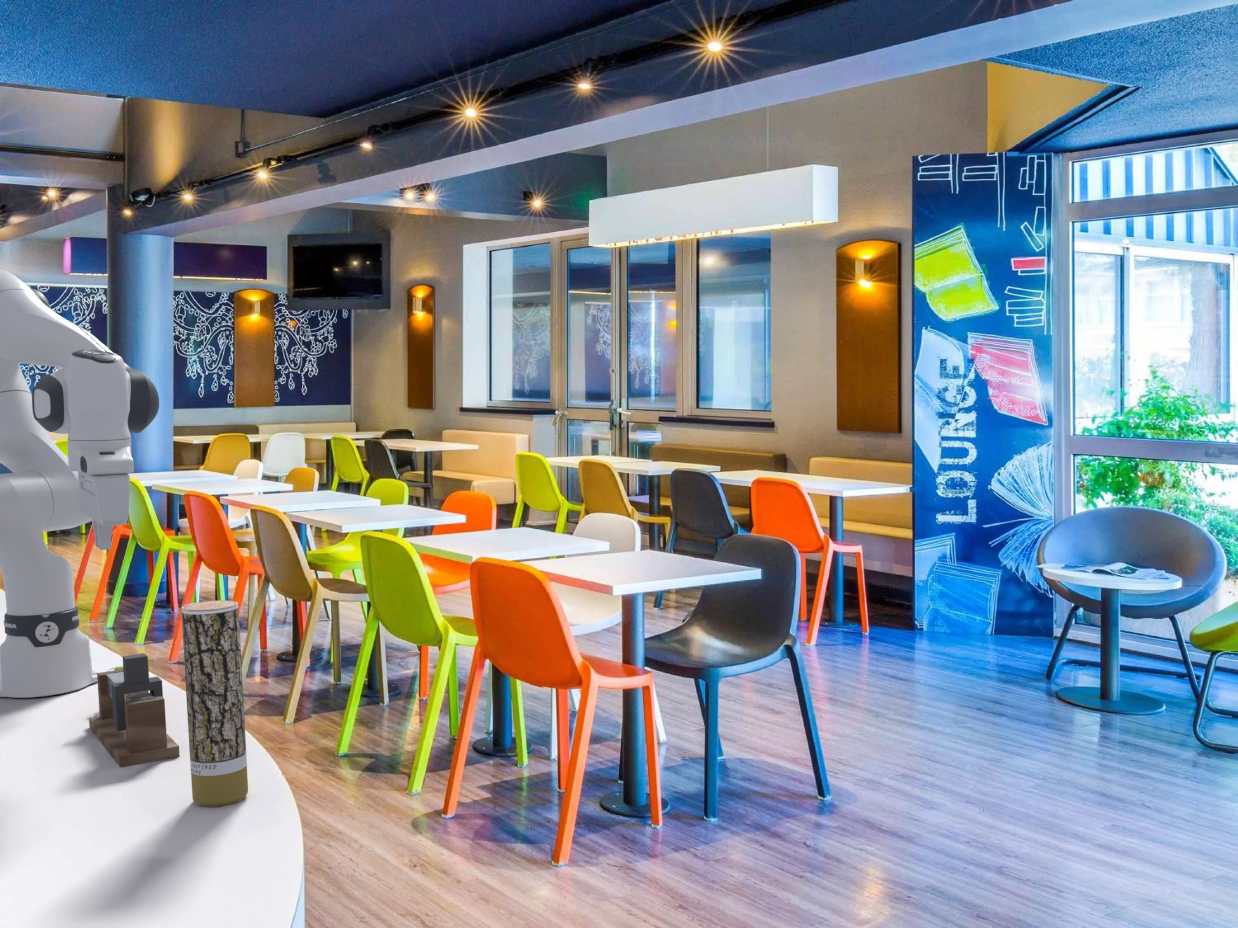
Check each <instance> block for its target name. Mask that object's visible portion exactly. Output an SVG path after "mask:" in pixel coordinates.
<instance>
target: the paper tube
mask: <svg viewBox="0 0 1238 928" xmlns="http://www.w3.org/2000/svg"><path fill="white" fill-rule="evenodd" d="M238 604H239V602H238V601H235V600H227V599H226V600H207V601H206V600H205V601H199V602H192V603H188V604H185V605H183V606H182V607H181V622H182V623H181V624H182V641H183V655H184V656H183V660H184V678H185V695H186V713H187V727H188V728H187V729H188V730H187V732H188V745H189V746H188V750H189V764H190V766H189V767H190V776H191V779H190V780H191V793H192V794H191V795H192V797H191V798H192V800H193V802H194V803H195V804H197V805H198V806H202V807H207V808H208V807H210V808H211V807H212V808H213V807H215V808H217V807H223V806H229V805H232V804H235V803H238V802H240V801H242V800H243V799H245V798H246V797H247V796H248V793H249V784H248V783H249V782H248V780H249V779H248V759H247V755H248V754H247V742H246V741H247V739H246V720H245V701H244V687H243V686H244V685H243V683H244V682H243V670H242V669H243V666H242V664H243V663H242V647H241V645H242V644H241V629H240V628H241V626H240V614H239V613H240V609H239V605H238Z"/></svg>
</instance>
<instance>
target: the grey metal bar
mask: <svg viewBox="0 0 1238 928" xmlns="http://www.w3.org/2000/svg"><path fill="white" fill-rule="evenodd" d="M117 672H118V671H117ZM117 672H110V673H109V674H108V673H107V674H106V680H107V694H108V695H109V696H110V697H111V698H112V688H111V684H112V683H118V682H124V672H123V671H120V672H119V673H117ZM148 698H149V699H155V698H154V697H153V696H152V695H151V694H150V691H143V692H137V693H131V694H125V702H127V701H133V702H134V701H135V702H137V701H139V700H140V701H144V700H145V699H146V700H149V699H148ZM136 700H137V701H136Z"/></svg>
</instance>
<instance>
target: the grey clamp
mask: <svg viewBox="0 0 1238 928" xmlns="http://www.w3.org/2000/svg"><path fill="white" fill-rule="evenodd" d="M122 666H123V672H124V682H118V683H112V684H111V688H112V704H113V720H114V728H115V729H116V730H117V731H118V732H119V731H124V730H126V720H125V704H124V702H125V694H131V693H137V692H143V691H148V692H149V693H150V694H151V695H152V696H153V697H159V696H162V697H163V698H164V694H163V693H164V692H163V680H162V679H161V678H160V677H158V676H151V677H150V672H149V656H148V655H147V654H146V653H143V652H141V653H136V654H129V655H123V656H122Z"/></svg>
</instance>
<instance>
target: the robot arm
mask: <svg viewBox="0 0 1238 928" xmlns="http://www.w3.org/2000/svg"><path fill="white" fill-rule="evenodd" d="M20 364H23V365H32V366H44V367H55V368H59V369H58V370H56V371H55V372H52V373H47V374H46V375H43V377H41V378H40V379H39V380H38V382H37V383H35V384H34V387H33V388H32V392H31V390H30V387H29V385H28V383H27V379H26V378H25V376H24V374H23V371H22V368H21V365H20ZM159 409H160V397H159V393H158V390H157V387H156V386H155V384H154V383H153V381H152V380H151V379H150V378H149V377H148V376H147V375H146V374H145V373H144V372H142V371H141V370H139V369H135V368H132V367H130V366H129V365H128V364H126V363H125V362H124V359H123V357H122V356H120V355H119V354H117V353H115V352H113V351H112V350H111V349H109V347H107V346H106V345H105V344H104V343H103V342H101V341H100V340H99V339H98V337H96V336H94V335H93V334H92V333H91V332H90V331H88V330H87V329H85V328H83V327H81V326H80V325H77V324H75V323H73V322H72V321H70V320H68V319H66V318H64V317H63V316H61V315H60V314H58V312H55V311H54V310H52V308H51V306H50V302H49V300H48V298H47V297H46V296H45V295H44V294H43V293H42V292H41V291H40V290H38V289H34V288H31V287H29V286H28V285H27V284H26V283H25V282H24V281H22V280H21V278H19V277H17V276H16V275H14V274H13V273H11V272H9V271H7V270H4V269H0V464H1V465H3V466H4V467H5V468H6V469H8V470H9V471H11V472H10V473H8V472H7V473H0V569H1V574H2V580H3V587H4V596H5V608H6V612H5V614H4V617H3V618H4V619H3V626H4V634H5V635H6V637H5V639H4V641H3V642H2V643H1V644H0V698H3V697H4V698H17V699H18V698H19V699H20V698H22V699H23V698H37V697H48V696H54V695H60V694H64V693H70V692H73V691H76V690H77V691H78V690H81V689H83V688H85V687H87V686H89V685H91V684H96V683H98V680H97V673H99V672H97V671H95V670H93V664H92V655H91V647H90V646H91V645H90V637H89V636H87V635H86V634H85V633H83V632H82V631H81V630H80V629H79V626H80V613H79V607H78V606H77V605H76V600H75V599H76V598H75V597H76V596H75V582H74V581H75V580H74V570H73V567H72V565H71V563H70V561H68V559H67V558H65V557H64V556H61V555H59V554H57V553H55V552H52V551H50V550H49V548H48V547H47V546H46V543H45V540H44V536H43V533H46V532H51V531H53V532H54V531H60V530H68V529H74V528H76V527H80V526H82V525H85V524H88V523H91V522H92V529H93V533H94V545H95V547H96V548H98V549H100V550H101V551H105V550H110V549H112V537H113V531H114V526H115V527H116V526H124V525H126V524H127V523H128V518H129V513H130V498H131V497H130V496H131V492H130V490H131V479H130V474H133V473H134V470H135V465H134V464H135V463H134V459H133V456H132V435H131V433H132V434H140V433H142V431H144V430H145V429H146V428H147V427H148V426H149V425H150V424H151V423H152V422H153V421H154V420H155V418H156V416H158V413H159ZM48 432H49V433H56V434H63V435H64V434H65V435H66V434H67V435H68V436H67V455H66V454H65V453H64V452H63V451H62V450H61V449H60V448H59V447H58V445H57V444H56V443H55V442H54V441H53V440H52V438H51V437H50V435H49V433H48Z"/></svg>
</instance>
